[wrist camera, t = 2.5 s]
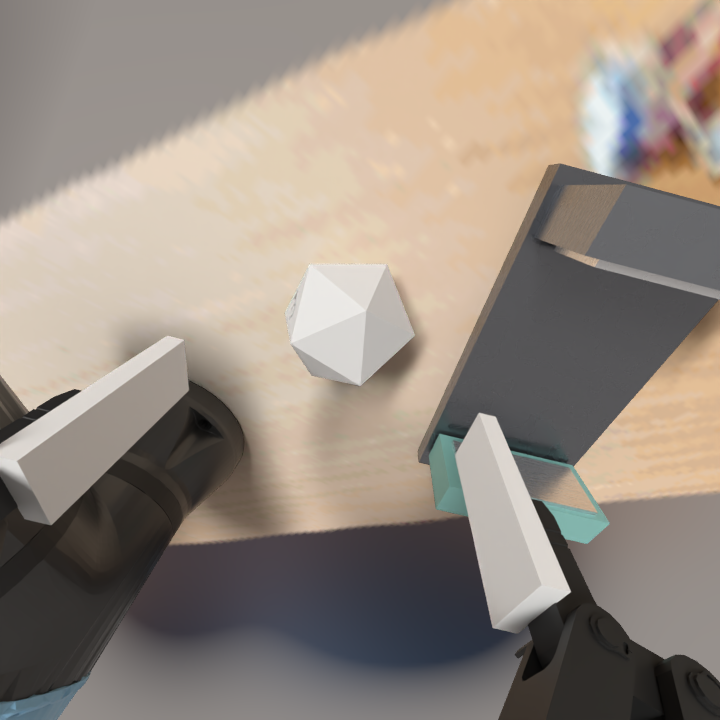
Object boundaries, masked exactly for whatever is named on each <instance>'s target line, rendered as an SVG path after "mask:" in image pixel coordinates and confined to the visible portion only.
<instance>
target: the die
mask: <svg viewBox="0 0 720 720" xmlns="http://www.w3.org/2000/svg"><path fill="white" fill-rule="evenodd" d="M285 316H286V322H287V327H288V333H289V339H290V344H291V345H292V347H293V348H294V350H295V351H296V353H297V354H298V356H299V357H300V359H301V360H302V362H303V363H304V365H305V366H306V368H307V369H308V371H309V372H310V374H311V375H312V376H316V377H321V378H325V379H330V380H335V381H339V382H344V383H349V384H353V385H358V386H361V385H362V384H363V383H364V382H365V381H366V380H367V379H369V378H370V377H371V376H372V375H373V374H374V373H375V372H376V371H377V370H378V369H379V368H380V367H382V366H383V365H384V364H385V363H386V362H387V361H388V360H389V359H390V358H391V357H392V356H393V355H395V354H396V353H397V352H398V351H399V350H400V349H401V348H402V347H403V346H404V345H405V344H406V343H408V342H409V341H410V340H411V339H412V338H413V337H414V336H415V334H414V331H413V329H412V326H411V324H410V321H409V318H408V316H407V313H406V311H405V308H404V306H403V303H402V301H401V298H400V296H399V293H398V291H397V288H396V286H395V283H394V280H393V278H392V275H391V273H390V270H389V268H388V265H387V264H309V266H308V268H307V270H306V272H305V274H304V276H303V278H302V280H301V282H300V284H299V286H298V288H297V290H296V292H295V294H294V296H293V298H292V300H291V302H290V304H289V305H288V307H287V309H286V311H285Z"/></svg>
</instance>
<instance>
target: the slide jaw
mask: <svg viewBox="0 0 720 720" xmlns="http://www.w3.org/2000/svg"><path fill="white" fill-rule="evenodd" d="M463 440H464V439H459V438H455V437H451V436H447V435H443V434H439V436H438V438H437V440H436V442H435V444H434V446H433V448H432V450H431V452H430V454H429V461H430V469H431V476H432V483H433V491H434V498H435V506H436V509H437V510H441V511H446V512H450V513H454V514H459V515H463V516H468V512H467V507H466V503H465V498H464V494H463V489H462V484H461V480H460V475H459V471H458V466H457V461H456V457H455V454H456V453H457V451H458V449H459V447H460V445H461V444H462V442H463ZM511 454H512V456H513V458H514V460H515V463H516V465H517V467H518V470H519V472H520V474H521V477H522V479H523V481H524V484H525V486H526V488H527V491H528V493H529V495H530V498H531V499H535V500H539V501H542V502H543V503H544V504H545V506H546V507H547V508H548V509H549V511H550V512H551V513H552V514H553V516H554V517H555V519H556V521H557V524H558V526H559V528H560V530H561V535H563V536H564V538H565V539H568V540H572V541H577V542H581V543H585V544H587V543H589V542H590V541H591V540H592V539H593V538H594V537H595V536H596V535H597V534H598V533H600V532H601V531H602V530H603V529H604V528H605V527H607V526H608V525H609V524H610V523H609V521H608V520H607V518H606V517H605V515H604V514H603V512H602V510H601V509H600V507H599V506H598V504H597V503H596V501H595V499H594V498H593V496H592V495H591V493H590V492H589V490H588V489H587V487H586V486H585V484H584V482H583V481H582V479H581V478H580V476H579V475H578V473H577V472H576V470H575V469H574V467H573V465H569V464H565V463H561V462H557V461H552V460H548V459H544V458H540V457H535V456H531V455H527V454H523V453H519V452H514V451H511Z"/></svg>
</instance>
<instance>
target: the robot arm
mask: <svg viewBox="0 0 720 720" xmlns="http://www.w3.org/2000/svg"><path fill="white" fill-rule="evenodd" d="M243 449H244V439H243V434H242V431H241V429H240V426H239V424H238V422H237V421H236V419H235V417H234V416H233V414H232V413H231V412H230V411H229V409H228V408H227V407H226V406H225V405H224V404H223V403H222V402H221V401H220V400H218V399H217V398H216V397H215V396H214V395H212V394H211V393H209V392H208V391H206V390H205V389H203V388H202V387H200V386H198V385H196V384H194V383H192V382H190V381H188V373H187V361H186V350H185V340H183V339H179V338H175V337H171V336H166V337H164V338H163V339H161V340H160V341H158V342H156V343H155V344H153V345H152V346H150V347H149V348H147V349H146V350H144V351H143V352H141V353H140V354H138V355H136V356H135V357H133V358H132V359H130V360H129V361H127V362H126V363H124V364H123V365H121V366H119V367H118V368H116V369H115V370H113V371H112V372H110V373H109V374H107V375H106V376H104V377H102V378H101V379H99V380H98V381H96V382H95V383H93V384H92V385H90V386H89V387H87V388H86V389H84V390H82V391H80V390H76V389H74V390H71V391H68V392H66V393H63V394H60V395H58V396H55V397H53V398H51V399H50V400H48V401H46V402H45V403H43V404H42V405H40V406H38V407H37V409H36V410H35V409H33V410H32V411H30V412H29V411H28V410H27V409H26V407H25V406H24V405H23V404H22V402H21V401H20V400H19V398H18V397H17V396H16V395H15V393H14V392H13V391H12V390H11V388H10V387H9V386H8V384H7V383H6V382H5V381H4V379H3V378H2V377H1V376H0V720H57V719H58V718H59V716H60V715H61V713H62V712H63V711H64V709H65V708H66V706H67V705H68V704H69V702H70V701H71V699H72V698H73V697H74V695H75V694H76V692H77V691H78V690H79V689H80V688H81V687H82V686H83V685H84V684H85V683H86V681H87V679H88V678H89V676H90V672H91V670H92V668H93V667H94V665H95V663H96V662H97V660H98V658H99V657H100V655H101V654H102V652H103V650H104V649H105V647H106V645H107V644H108V642H109V640H110V639H111V637H112V636H113V634H114V632H115V631H116V629H117V627H118V626H119V624H120V623H121V621H122V619H123V618H124V616H125V614H126V613H127V611H128V609H129V608H130V606H131V605H132V603H133V601H134V600H135V598H136V596H137V595H138V593H139V591H140V590H141V588H142V586H143V585H144V583H145V581H146V580H147V578H148V577H149V575H150V574H151V572H152V570H153V569H154V567H155V565H156V564H157V562H158V560H159V559H160V557H161V556H162V554H163V552H164V551H165V549H166V547H167V546H168V544H169V542H170V541H171V539H172V537H173V536H174V534H175V533H176V531H177V530H178V528H179V526H180V525H181V523H182V522H183V520H184V519H185V518H186V517H187V516H188V515H189V514H190V513H191V512H192V511H193V510H194V509H195V508H196V507H197V506H199V505H200V504H201V503H202V502H203V501H204V500H205V499H206V498H207V497H209V496H210V495H211V494H212V493H213V492H214V491H215V490H216V489H217V488H218V487H220V486H221V485H222V484H223V483H224V482H225V481H226V480H227V479H228V478H229V477H230V475H231V474H232V473H233V471H234V469H235V467H236V466H237V464H238V462H239V460H240V458H241V456H242V454H243ZM455 457H456V461H457V466H458V471H459V475H460V480H461V484H462V489H463V494H464V498H465V503H466V507H467V512H468V517H469V521H470V525H471V530H472V535H473V540H474V544H475V549H476V553H477V558H478V562H479V567H480V571H481V576H482V581H483V585H484V590H485V594H486V599H487V603H488V608H489V613H490V618H491V622H492V627H493V628H496V629H500V630H505V631H509V632H513V633H519V632H520V631H522V630H523V629H524V628H525V627H527V626H529V630H530V633H531V636H532V640H531V641H530V642H528V643H527V644H526V645H524V646H523V647H521V648H520V649H519V650H518V651H517V652H516V654H515V656H516V657H517V658H520V657H521V656H522V655H523V658H522V661H521V663H520V665H519V668H518V671H517V673H516V676H515V678H514V681H513V683H512V686H511V689H510V691H509V694H508V696H507V699H506V701H505V704H504V706H503V709H502V712H501V714H500V716H499V719H498V720H720V682H719V681H718V680H717V679H716V678H715V677H714V676H713V675H712V674H711V673H710V672H709V671H708V670H707V669H706V668H704V667H703V666H702V665H700V664H699V663H698V662H696V661H695V660H693V659H691V658H689V657H687V656H685V655H674V656H672V657H669V658H667V659H663V658H661V657H659V656H658V655H656V654H654V653H653V652H651V651H649V650H648V649H646V648H644V647H642V646H640V645H639V644H637V643H635V642H634V641H632V640H630V639H629V637H628V635H627V634H626V632H625V631H624V629H623V628H622V627H621V625H620V624H619V623H618V622H617V621H616V620H615V619H614V618H613V617H612V616H611V615H610V614H609V613H608V612H606V611H605V610H603V609H602V608H601V607H599V606H597V604H596V602H595V601H594V599H593V597H592V595H591V593H590V591H589V589H588V586H587V585H586V582H585V580H584V578H583V576H582V574H581V572H580V570H579V568H578V566H577V563H576V561H575V559H574V557H573V555H572V553H571V551H570V549H568V544H567V542H566V540H565V538H564V536H563V535H561V530H560V528H559V526H558V524H557V521H556V519H555V517H554V516H553V514H552V513H551V512H550V511H549V509H548V508H547V507H546V506H545V504H544V503H543V502H542V501H539V500H535V499H531V498H530V495H529V493H528V491H527V488H526V486H525V484H524V481H523V479H522V477H521V474H520V472H519V470H518V467H517V465H516V463H515V460H514V458H513V456H512V454H511V451H510V449H509V447H508V444H507V442H506V440H505V437H504V435H503V433H502V430H501V428H500V426H499V423H498V421H497V419H496V417H495V416H491V415H487V414H483V413H478V415H477V417H476V419H475V420H474V422H473V424H472V426H471V428H470V429H469V431H468V433H467V435H466V437H465V438H464V440H463V442H462V444H461V445H460V447H459V449H458V451H457V453H456V454H455Z"/></svg>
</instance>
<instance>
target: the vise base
mask: <svg viewBox="0 0 720 720" xmlns="http://www.w3.org/2000/svg"><path fill="white" fill-rule="evenodd" d="M719 299H720V206H717V205H713V204H709V203H705V202H702V201H698V200H694V199H691V198H687V197H683V196H679V195H676V194H672V193H668V192H664V191H661V190H657V189H653V188H650V187H646V186H642V185H638V184H635V183H631V182H627V181H623V180H620V179H616V178H612V177H608V176H605V175H601V174H597V173H594V172H590V171H586V170H582V169H579V168H575V167H571V166H567V165H564V164H554V165H549V166H548V168H547V170H546V173H545V175H544V177H543V179H542V181H541V183H540V186H539V188H538V190H537V192H536V194H535V197H534V199H533V201H532V203H531V205H530V207H529V210H528V212H527V214H526V216H525V218H524V221H523V223H522V225H521V227H520V229H519V231H518V234H517V236H516V238H515V240H514V242H513V244H512V247H511V249H510V251H509V253H508V255H507V258H506V260H505V262H504V264H503V266H502V268H501V271H500V273H499V275H498V277H497V279H496V282H495V284H494V286H493V288H492V290H491V292H490V295H489V297H488V299H487V301H486V303H485V306H484V308H483V310H482V312H481V314H480V316H479V319H478V321H477V323H476V325H475V327H474V329H473V332H472V334H471V336H470V338H469V340H468V343H467V345H466V347H465V349H464V351H463V353H462V356H461V358H460V360H459V362H458V364H457V367H456V369H455V371H454V373H453V375H452V377H451V380H450V382H449V384H448V386H447V388H446V390H445V393H444V395H443V397H442V399H441V401H440V404H439V406H438V408H437V410H436V412H435V414H434V417H433V419H432V421H431V423H430V425H429V428H428V430H427V432H426V434H425V436H424V438H423V441H422V443H421V445H420V447H419V449H418V460H419V462H420V463H424V464H428V465H430V461H429V454H430V452H431V450H432V448H433V446H434V444H435V442H436V440H437V438H438V436H439V434H443V435H447V436H451V437H455V438H459V439H464V438H465V437H466V435H467V433H468V431H469V429H470V428H471V426H472V424H473V422H474V420H475V419H476V417H477V415H478V413H483V414H487V415H491V416H495V417H496V419H497V421H498V423H499V426H500V428H501V430H502V433H503V435H504V437H505V440H506V442H507V444H508V447H509V449H510V451H514V452H519V453H523V454H527V455H531V456H535V457H540V458H544V459H548V460H552V461H557V462H561V463H565V464H569V465H573V467H574V465H575V464H576V463H577V462H578V461H579V460H580V458H581V457H582V456H583V455H584V454H585V453H586V452H587V450H588V449H589V448H590V447H591V446H592V445H593V444H594V442H595V441H596V440H597V439H598V438H599V437H600V435H601V434H602V433H603V432H604V431H605V430H606V429H607V427H608V426H609V425H610V424H611V423H612V422H613V421H614V419H615V418H616V417H617V416H618V415H619V414H620V412H621V411H622V410H623V409H624V408H625V407H626V406H627V404H628V403H629V402H630V401H631V400H632V399H633V398H634V396H635V395H636V394H637V393H638V392H639V391H640V389H641V388H642V387H643V386H644V385H645V384H646V383H647V381H648V380H649V379H650V378H651V377H652V376H653V375H654V373H655V372H656V371H657V370H658V369H659V368H660V366H661V365H662V364H663V363H664V362H665V361H666V360H667V358H668V357H669V356H670V355H671V354H672V353H673V352H674V350H675V349H676V348H677V347H678V346H679V345H680V343H681V342H682V341H683V340H684V339H685V338H686V337H687V335H688V334H689V333H690V332H691V331H692V330H693V329H694V327H695V326H696V325H697V324H698V323H699V322H700V320H701V319H702V318H703V317H704V316H705V315H706V314H707V312H708V311H709V310H710V309H711V308H712V307H713V306H714V304H715V303H716V302H717V301H718V300H719Z"/></svg>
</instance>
